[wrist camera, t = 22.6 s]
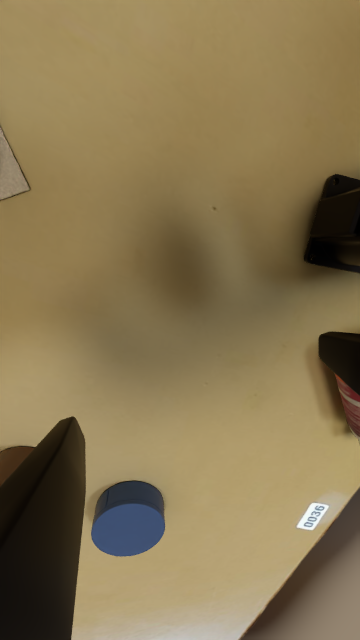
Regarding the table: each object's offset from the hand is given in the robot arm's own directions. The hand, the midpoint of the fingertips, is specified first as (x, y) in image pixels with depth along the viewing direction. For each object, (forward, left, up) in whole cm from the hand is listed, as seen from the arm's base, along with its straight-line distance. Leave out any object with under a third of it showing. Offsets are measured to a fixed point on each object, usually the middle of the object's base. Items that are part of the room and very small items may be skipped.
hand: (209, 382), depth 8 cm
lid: (+1, +22, -10) cm, 24 cm away
